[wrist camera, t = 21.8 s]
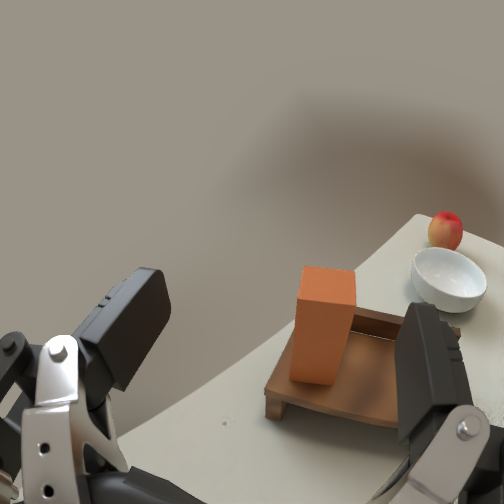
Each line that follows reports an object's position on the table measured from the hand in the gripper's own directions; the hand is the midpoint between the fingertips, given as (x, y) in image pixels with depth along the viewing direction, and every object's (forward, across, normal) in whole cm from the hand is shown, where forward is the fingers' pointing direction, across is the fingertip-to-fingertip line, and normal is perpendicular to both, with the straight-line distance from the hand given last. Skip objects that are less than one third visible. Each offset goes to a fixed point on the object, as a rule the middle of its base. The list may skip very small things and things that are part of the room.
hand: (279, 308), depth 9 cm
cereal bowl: (+41, -28, +30) cm, 58 cm away
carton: (+15, -2, +22) cm, 27 cm away
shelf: (+15, -9, +30) cm, 35 cm away
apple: (+61, -34, +30) cm, 76 cm away
